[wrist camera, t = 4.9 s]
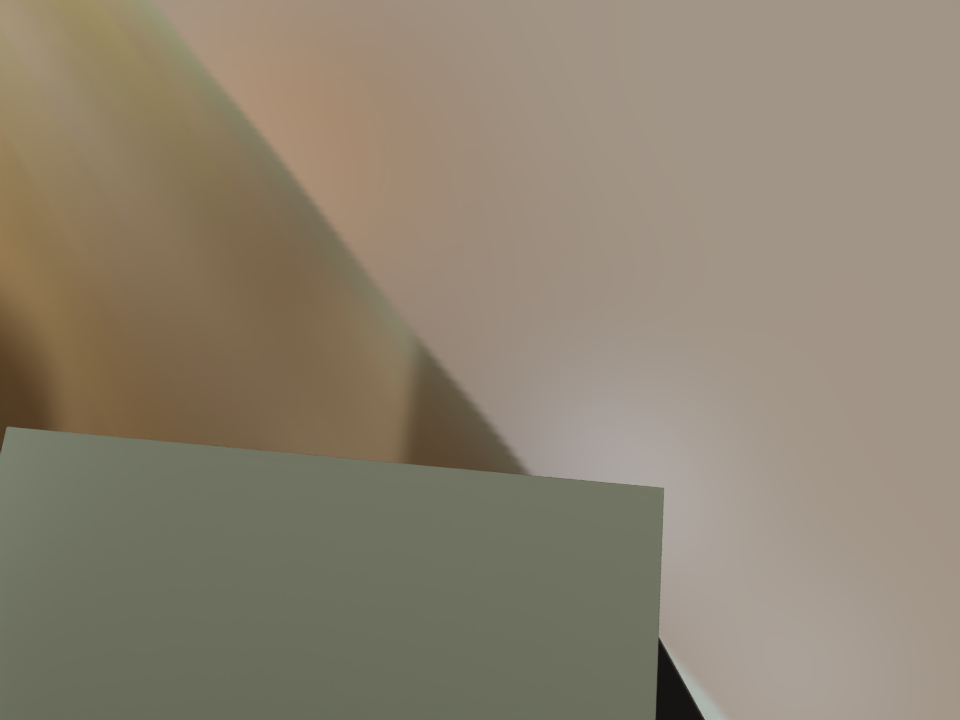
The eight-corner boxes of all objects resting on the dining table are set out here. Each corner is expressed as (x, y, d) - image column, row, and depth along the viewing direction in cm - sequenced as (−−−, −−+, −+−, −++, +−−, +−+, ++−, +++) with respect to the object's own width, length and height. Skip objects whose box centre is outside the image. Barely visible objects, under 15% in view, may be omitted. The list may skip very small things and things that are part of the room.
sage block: (553, 741, 15) (629, 1413, 4) (335, 713, 16) (-197, 1237, 4) (568, 513, 17) (664, 488, 5) (364, 493, 17) (8, 427, 5)
